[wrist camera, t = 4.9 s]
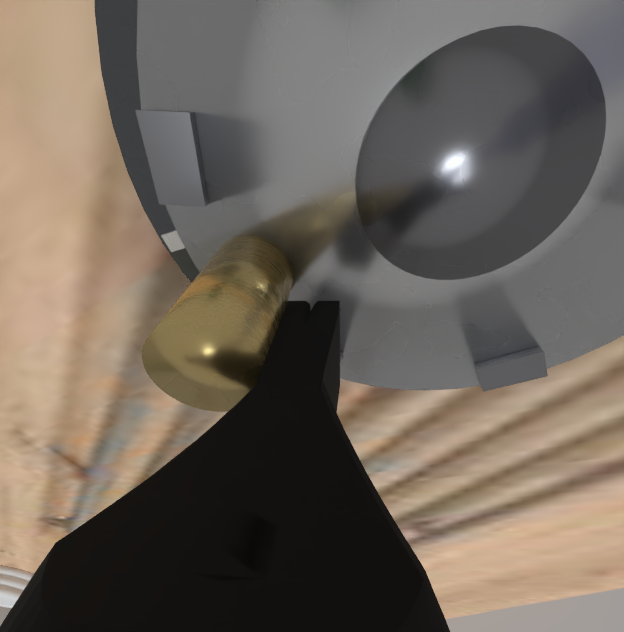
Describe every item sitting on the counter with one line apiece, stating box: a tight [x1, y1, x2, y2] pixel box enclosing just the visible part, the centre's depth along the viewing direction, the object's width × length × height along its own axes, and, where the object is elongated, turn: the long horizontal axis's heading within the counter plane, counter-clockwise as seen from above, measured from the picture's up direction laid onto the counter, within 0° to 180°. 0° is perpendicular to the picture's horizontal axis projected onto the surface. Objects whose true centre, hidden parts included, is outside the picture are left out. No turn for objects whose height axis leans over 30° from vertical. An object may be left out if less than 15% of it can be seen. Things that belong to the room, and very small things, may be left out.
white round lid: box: [0, 565, 34, 608], centre depth 50 cm, size 10×10×4 cm
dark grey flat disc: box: [95, 0, 200, 282], centre depth 10 cm, size 20×20×1 cm
